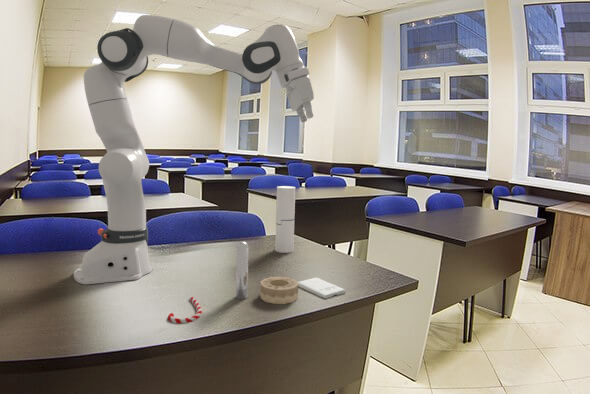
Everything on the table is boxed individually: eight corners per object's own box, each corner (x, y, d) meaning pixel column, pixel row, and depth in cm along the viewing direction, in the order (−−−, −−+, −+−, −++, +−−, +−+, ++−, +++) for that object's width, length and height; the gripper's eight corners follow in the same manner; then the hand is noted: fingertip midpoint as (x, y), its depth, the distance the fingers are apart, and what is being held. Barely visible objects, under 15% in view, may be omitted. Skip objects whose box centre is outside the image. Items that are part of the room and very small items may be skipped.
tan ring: (273, 306, 109) (273, 292, 108) (253, 294, 117) (254, 280, 117) (304, 299, 115) (305, 285, 114) (284, 287, 123) (284, 274, 123)
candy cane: (204, 295, 113) (199, 319, 98) (204, 300, 113) (199, 324, 98) (174, 296, 112) (165, 320, 97) (174, 301, 112) (165, 325, 97)
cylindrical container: (291, 253, 160) (293, 188, 157) (273, 251, 162) (274, 187, 158) (294, 248, 167) (297, 186, 164) (277, 247, 169) (279, 185, 165)
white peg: (239, 300, 113) (239, 243, 111) (233, 296, 115) (234, 241, 113) (249, 297, 115) (250, 242, 112) (244, 294, 117) (245, 239, 115)
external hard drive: (317, 282, 131) (345, 294, 121) (296, 287, 125) (324, 300, 116) (317, 277, 130) (345, 288, 121) (296, 282, 125) (325, 294, 116)
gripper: (279, 87, 140) (292, 126, 142) (288, 72, 120) (304, 118, 122) (296, 81, 141) (309, 121, 143) (309, 66, 121) (324, 112, 122)
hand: (307, 120), depth 132 cm, fingers open, 8 cm apart
